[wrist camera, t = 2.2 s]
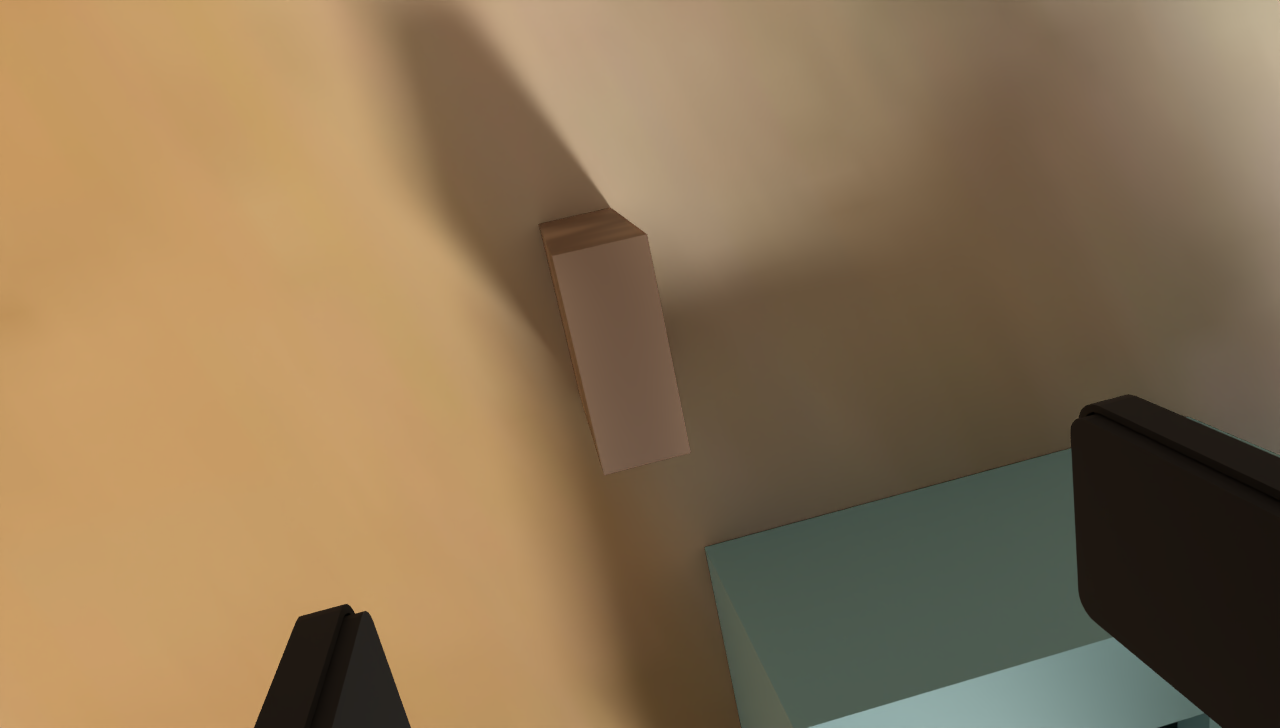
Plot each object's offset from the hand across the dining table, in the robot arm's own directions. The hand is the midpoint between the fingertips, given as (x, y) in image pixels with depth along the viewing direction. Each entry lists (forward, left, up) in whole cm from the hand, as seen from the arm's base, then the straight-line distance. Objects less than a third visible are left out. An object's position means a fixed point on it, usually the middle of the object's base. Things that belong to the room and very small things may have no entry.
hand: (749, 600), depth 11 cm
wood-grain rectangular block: (0, 0, -18) cm, 18 cm away
